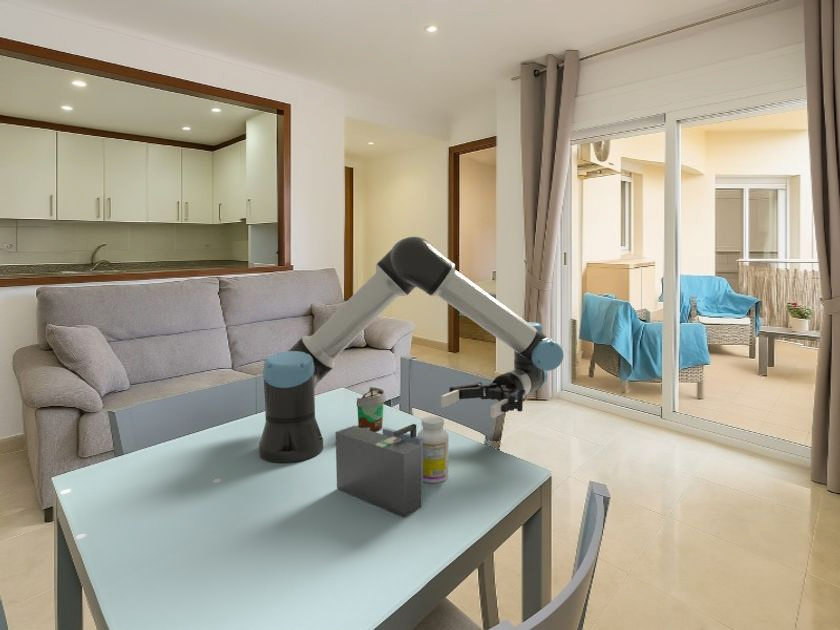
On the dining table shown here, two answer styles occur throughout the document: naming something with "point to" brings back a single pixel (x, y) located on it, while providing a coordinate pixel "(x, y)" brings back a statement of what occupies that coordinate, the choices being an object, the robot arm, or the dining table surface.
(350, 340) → the robot arm
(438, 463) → the supplement bottle
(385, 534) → the dining table surface
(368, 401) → the food container
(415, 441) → the pale blue square panel
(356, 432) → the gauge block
